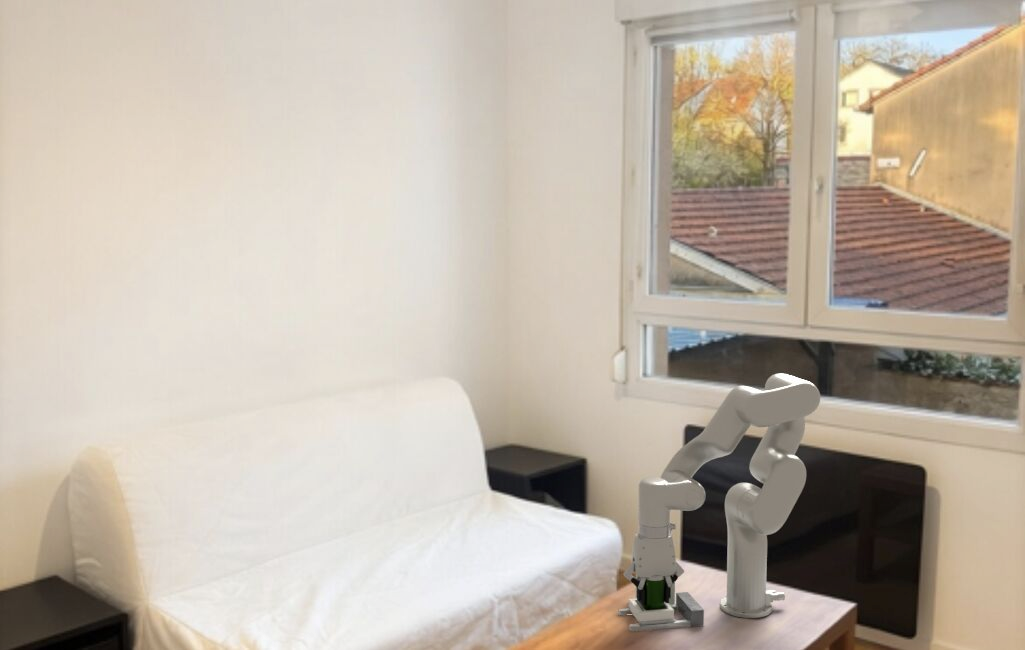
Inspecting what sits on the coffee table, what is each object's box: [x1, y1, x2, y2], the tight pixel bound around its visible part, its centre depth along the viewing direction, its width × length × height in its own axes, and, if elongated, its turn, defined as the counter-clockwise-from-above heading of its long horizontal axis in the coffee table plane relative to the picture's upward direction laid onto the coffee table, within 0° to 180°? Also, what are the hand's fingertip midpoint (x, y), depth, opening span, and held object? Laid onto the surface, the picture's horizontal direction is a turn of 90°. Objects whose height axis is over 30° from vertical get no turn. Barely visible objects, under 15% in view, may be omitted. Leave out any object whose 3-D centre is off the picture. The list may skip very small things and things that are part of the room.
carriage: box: [627, 597, 676, 625], centre depth 236 cm, size 8×11×2 cm
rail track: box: [618, 591, 705, 632], centre depth 237 cm, size 18×11×4 cm, turn 100°
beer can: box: [642, 575, 665, 611], centre depth 236 cm, size 5×5×12 cm
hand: (653, 601), depth 236 cm, fingers closed on beer can, 5 cm apart
